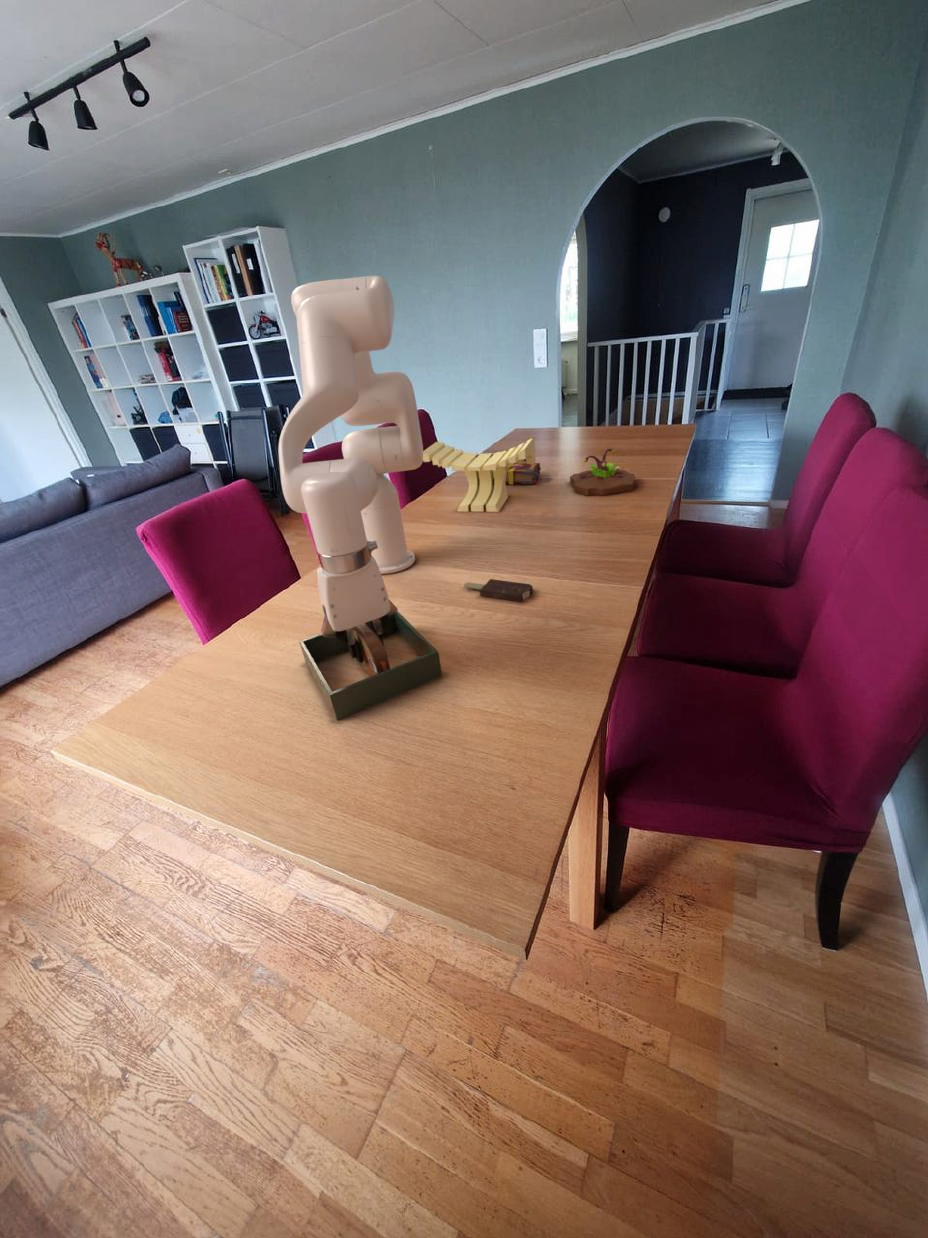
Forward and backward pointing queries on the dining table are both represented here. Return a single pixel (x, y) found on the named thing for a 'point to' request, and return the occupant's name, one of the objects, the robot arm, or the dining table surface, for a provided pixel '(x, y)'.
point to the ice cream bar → (503, 590)
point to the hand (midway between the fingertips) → (368, 654)
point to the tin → (371, 650)
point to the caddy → (381, 683)
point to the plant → (603, 478)
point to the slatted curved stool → (481, 472)
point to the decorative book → (523, 473)
